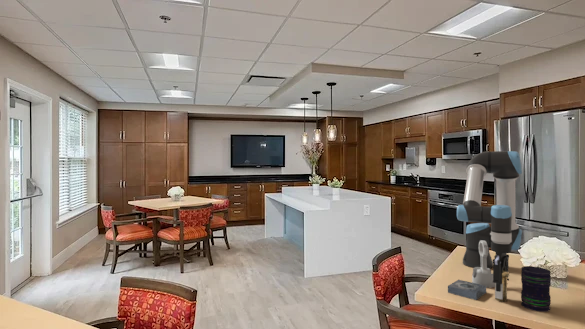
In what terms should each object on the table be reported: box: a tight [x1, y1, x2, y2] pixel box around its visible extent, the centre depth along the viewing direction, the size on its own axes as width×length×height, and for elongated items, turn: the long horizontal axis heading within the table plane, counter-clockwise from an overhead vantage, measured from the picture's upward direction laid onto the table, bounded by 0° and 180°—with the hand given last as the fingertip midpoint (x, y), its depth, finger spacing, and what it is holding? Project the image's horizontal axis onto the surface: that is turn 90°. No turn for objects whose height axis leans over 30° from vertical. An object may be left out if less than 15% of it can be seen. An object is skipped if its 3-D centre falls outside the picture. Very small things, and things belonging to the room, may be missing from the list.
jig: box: [447, 279, 487, 301], centre depth 159 cm, size 12×12×3 cm
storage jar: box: [520, 265, 552, 313], centre depth 143 cm, size 10×10×15 cm
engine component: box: [471, 240, 495, 289], centre depth 170 cm, size 11×20×10 cm
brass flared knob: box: [494, 270, 510, 303], centre depth 151 cm, size 6×6×12 cm
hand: (500, 296), depth 151 cm, fingers closed on brass flared knob, 4 cm apart
